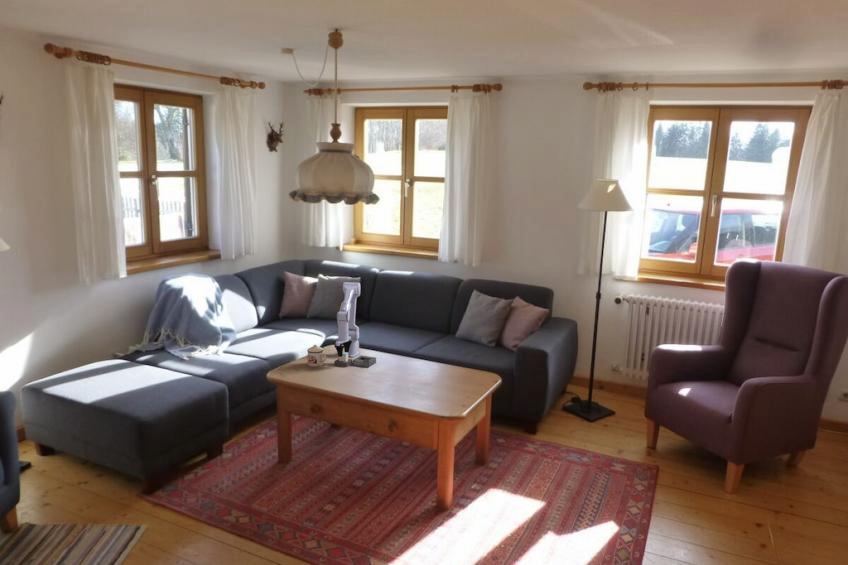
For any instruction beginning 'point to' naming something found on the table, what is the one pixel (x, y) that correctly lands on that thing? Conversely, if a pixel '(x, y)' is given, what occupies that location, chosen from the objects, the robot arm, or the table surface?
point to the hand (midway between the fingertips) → (343, 354)
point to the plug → (344, 357)
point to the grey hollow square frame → (343, 363)
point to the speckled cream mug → (315, 356)
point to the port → (364, 361)
